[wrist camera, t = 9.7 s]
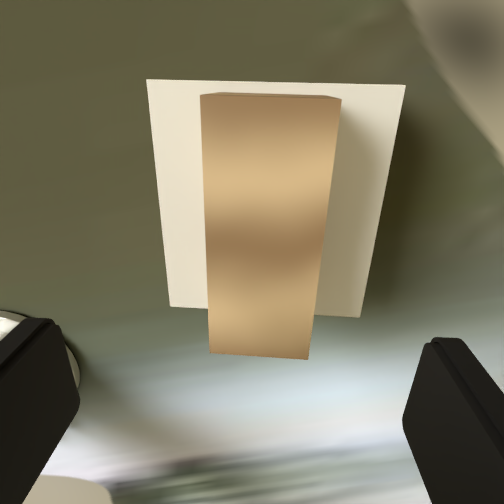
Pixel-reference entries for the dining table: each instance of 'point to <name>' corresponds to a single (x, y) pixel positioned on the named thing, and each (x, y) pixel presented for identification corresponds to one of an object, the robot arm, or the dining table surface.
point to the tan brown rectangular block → (265, 217)
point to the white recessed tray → (341, 191)
